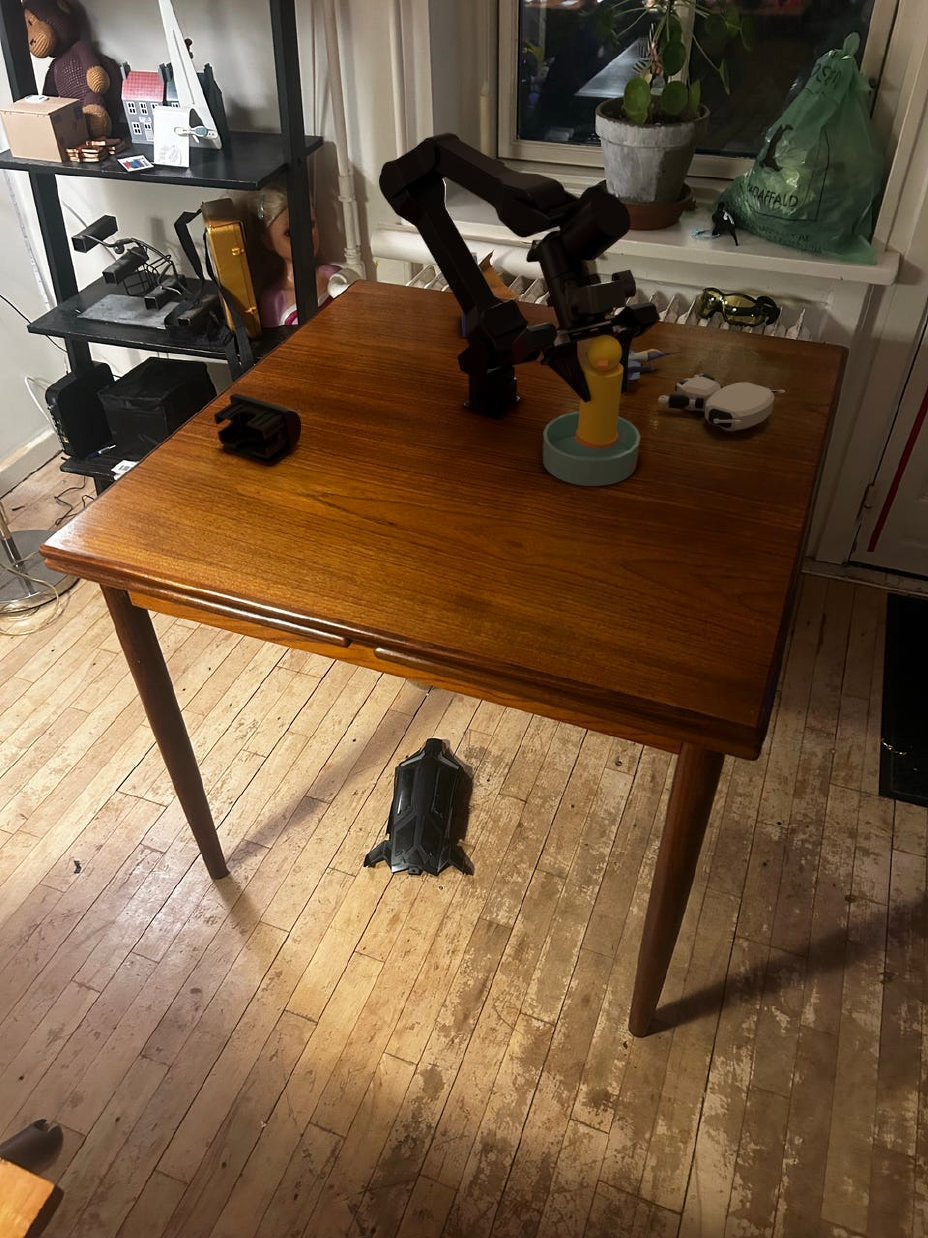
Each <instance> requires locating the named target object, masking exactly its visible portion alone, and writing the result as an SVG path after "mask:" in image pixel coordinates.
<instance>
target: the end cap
mask: <svg viewBox="0 0 928 1238" xmlns="http://www.w3.org/2000/svg"><path fill="white" fill-rule="evenodd" d="M229 401H230V404H228V405H225V407H223V408H222V409H220V410H218V411H216V412H215V413H214V414H213V417H214V423H215V425H217V426H218V425H220V424H221V423H223V422H224V421H225V420H226V421H230V422H229V423H228V424H227V425H226V426H224V427H223V428H222V429H220V430H219V431H217V436H218V440H219V442H220V444H222V451H223V452H225V453H228V454H231V455H233V456H237V457H240V458H243V459H246V460H249V461H252V462H255V463H257V464H261V465H264V466H267V467H273V466H275V465H276V464H278V463H279V462H281V461H282V460H283V459H285V458H286V457H288V456H289V455H290V453H291V452H292V451H293V449H294V448H295V447H296V445H297V444H298V442H299V440H300V437H301V433H302V421H301V417H300V415H299V413H298V412H297V411H296V410H294V409H292V408H288V407H285V406H281V405H278V404H275V403H271V402H268V401H265V400H262V399H258V398H255V397H251V396H248V395H245V394H241V393H233V394H230V395H229Z"/></svg>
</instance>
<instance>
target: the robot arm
mask: <svg viewBox="0 0 928 1238" xmlns="http://www.w3.org/2000/svg"><path fill="white" fill-rule="evenodd" d="M445 178H446V179H447V180H449V181H451V182H452V183H455V184H456V185H457V186H459V187H461V188H463V189H464V190H466V191H467V192H469V193H471V194H472V195H474V196H476V197H478V198H479V199H481V200H483V201H484V202H486V203H488V204H489V205H491V207H493V208H494V209H495V212H496V215H497V217H498V218H497V219H498V220H499V221H500V222H501V223H502V224H503V225H504V226H505V227H506V228H507V229H508V230H510V231H511V232H512V233H513V234H514V235H515V236H517V237H519V238H522V239H525V238H529V237H531V236H535V235H538V234H541V233H545V232H547V231H549V230H552V229H555V228H559V230H552V231H550V232H548V233H547V234H546V235H544V236H543V237H542V238H540V239H532V241H531V246H530V247H529V250H528V251H527V254H526V259H525V260H526V263H538V264H539V267H540V270H541V273H542V276H543V279H544V282H545V285H546V289H547V291H548V295H549V296H548V297H547V298H546V299H545V301H546V305H547V308H553V310H554V314H555V317H556V320H557V324H558V327H557V326H556V325H554V323H552V322H551V321H550V322H549V321H548V322H544V323H540V324H535V325H531V326H528V325H529V321H528V320H527V319H526V317H525V316H524V315H523V314H522V312H521V310H520V307H519V304H518V303H517V302H516V301H515V300H514V299H512V298H511V299H509V300H506V301H504V300H502V299H500V298H499V297H497V296H496V294H495V292H494V291H493V290H492V288H491V286H490V284H489V282H488V281H487V279H486V277H485V275H484V274H483V272H482V270H481V268H480V266H479V264H477V263H476V261H475V259H474V257H473V255H472V254H471V252H472V251H471V250H470V248H469V246H468V245H467V243H466V241H465V239H464V238H463V236H462V234H461V233H460V230H459V229H458V227H457V225H456V223H455V221H454V220H453V218H452V216H451V214H450V213H449V210H448V209H447V207H446V197H447V196H446V195H447V193H446V192H447V191H446V189H447V188H446V186H447V185H446V183H445V180H444V179H445ZM378 186H379V190H380V192H381V195H382V196H383V198H384V200H386V202H387V204H388V205H389V206H390V208H391V209H392V210H393V212H394V213H395V214H396V215H397V216H398V217H400V218H401V219H403V220H405V221H406V222H408V223H409V224H411V225H412V226H414V227H415V228H416V229H417V231H418V234H419V235H420V237H421V238H422V240H423V242H424V243H425V246H426V247H427V249H428V251H429V253H430V255H431V256H432V258H433V260H434V262H435V263H436V265H437V267H438V269H439V271H440V273H441V275H442V276H443V278H444V279H445V281H446V283H447V285H448V287H449V288H450V290H451V292H452V294H453V296H454V297H455V299H456V302H457V303H458V304H459V306H460V309H461V311H462V310H463V312H464V314H465V316H466V328H465V336H466V337H465V340H466V342H467V344H468V346H467V347H466V348H465V349H464V350H462V352H460V354H458V355H457V362H458V366H459V370H460V371H461V372H463V373H464V374H467V375H468V399H467V400H466V401H463V404H462V407H463V408H464V409H468V410H470V411H474V412H477V413H480V414H483V415H486V416H489V417H493V418H496V419H498V418H501V417H502V416H504V415H505V414H506V413H507V412H508V411H509V410H511V409H512V408H513V407H515V406H516V405H517V404H518V403H520V400H521V397H520V396H518V379H517V378H516V367H515V366H516V365H522V364H523V365H524V364H527V363H531V362H535V361H537V360H538V359H539V358H540V356H541V354H542V356H543V357H542V359H541V360H540V361H539V363H540V365H541V367H543V366H548V367H549V368H550V370H552V371H553V372H554V373H556V375H558V376H559V377H560V378H561V379H562V380H563V381H564V382H565V383H566V384H567V385H568V386H569V387H570V388H571V389H572V391H574V393H576V394H577V396H578V397H579V399H580V398H581V399H582V400H583V401H584V402H585V403H587V402H589V401H590V400H591V397H590V392H589V388H588V385H587V382H586V379H585V377H584V374H583V367H582V365H581V363H580V360H579V356H578V355H579V354H578V353H579V352H578V350H579V349H578V342H581V341H586V340H590V339H595V338H597V337H599V336H602V335H609V336H612V337H614V338H615V339H616V340H617V341H618V342H619V343H620V345H621V349H622V355H621V359H620V361H619V363H620V364H621V365H622V366H623V377H622V386H621V395H622V394H625V393H627V392H628V385H629V384H628V383H629V381H628V358H629V350H630V349H631V345H632V341H633V339H636V338H639V337H641V336H643V335H645V333H647V332H648V331H649V330H650V329H652V328H653V327H654V326H655V325H656V324H657V323H658V322H660V321H661V320H662V319H661V315H660V312H659V309H658V307H657V305H656V304H654V302H652V301H651V300H647V301H642V302H638V303H633V304H628V305H627V300H626V299H628V298H634V297H636V295H637V292H638V291H637V283H636V280H635V277H634V275H633V272H632V270H631V269H627V270H621V271H616V272H612V274H611V279H610V281H607V282H602V280H601V278H600V277H601V276H599V274H598V273H597V272H596V273H592V271H591V268H590V264H589V263H588V262H590V261H595V260H597V259H598V258H599V257H601V256H602V255H603V254H604V253H605V252H607V250H609V249H610V248H611V247H612V246H613V245H615V244H616V243H617V242H619V241H620V240H621V239H622V238H624V237H625V236H626V235H627V234H628V233H629V231H630V228H631V215H630V212H629V209H628V206H626V204H625V203H623V202H622V201H621V200H620V199H619V198H618V197H617V196H616V195H614V194H613V193H610V192H606V191H605V189H604V188H603V185H602V184H601V183H597V184H594V185H590V186H588V187H587V188H586V189H585V190H583V192H582V193H581V194H580V197H578V196H576V195H575V194H572V193H571V192H569V191H567V190H566V189H565V187H564V186H563V184H562V183H561V182H560V181H559V180H557V179H555V178H553V177H549V176H545V175H541V174H539V173H528V172H519V171H516V170H513V169H511V168H510V167H508V166H506V165H504V164H503V163H501V162H499V161H497V160H496V159H493V158H492V157H490V156H488V155H486V154H485V153H483V152H481V151H480V150H478V149H476V148H474V147H472V146H470V145H469V144H468V143H466V142H464V141H462V140H461V139H460V137H459V136H458V135H457V134H455V133H452V132H443V133H440V134H436V135H433V136H429V137H428V136H427V137H425V138H424V139H423V140H422V141H420V142H419V143H418V144H417V145H416V146H415V147H414V148H412V149H411V150H409V151H408V152H405V153H404V154H402V155H400V156H399V157H398V158H396V159H393V160H389V161H386V162H384V163H383V165H382V167H381V169H380V174H379V176H378ZM614 308H618V309H622V308H623V309H622V310H620V312H618V313H617V314H616V315H615V316H614V317H609V318H606V317H607V316H609V315H611V314H612V313H614V311H615V309H614Z"/></svg>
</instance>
